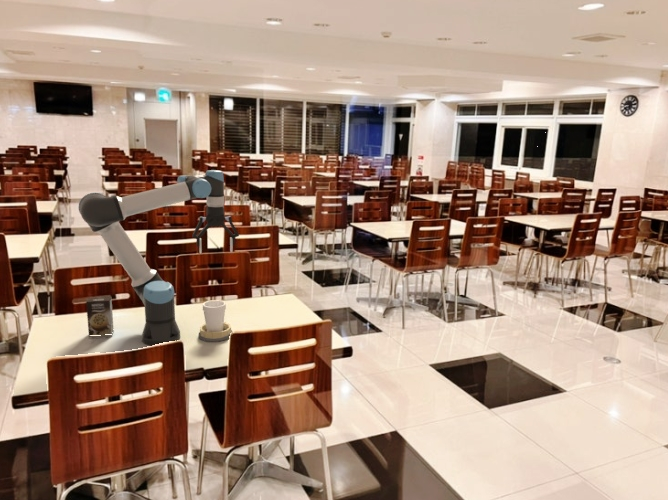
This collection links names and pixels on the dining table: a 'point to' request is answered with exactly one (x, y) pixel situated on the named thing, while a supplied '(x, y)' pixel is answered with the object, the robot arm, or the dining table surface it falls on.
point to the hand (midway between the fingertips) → (216, 252)
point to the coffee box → (100, 316)
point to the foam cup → (214, 315)
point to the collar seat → (215, 334)
